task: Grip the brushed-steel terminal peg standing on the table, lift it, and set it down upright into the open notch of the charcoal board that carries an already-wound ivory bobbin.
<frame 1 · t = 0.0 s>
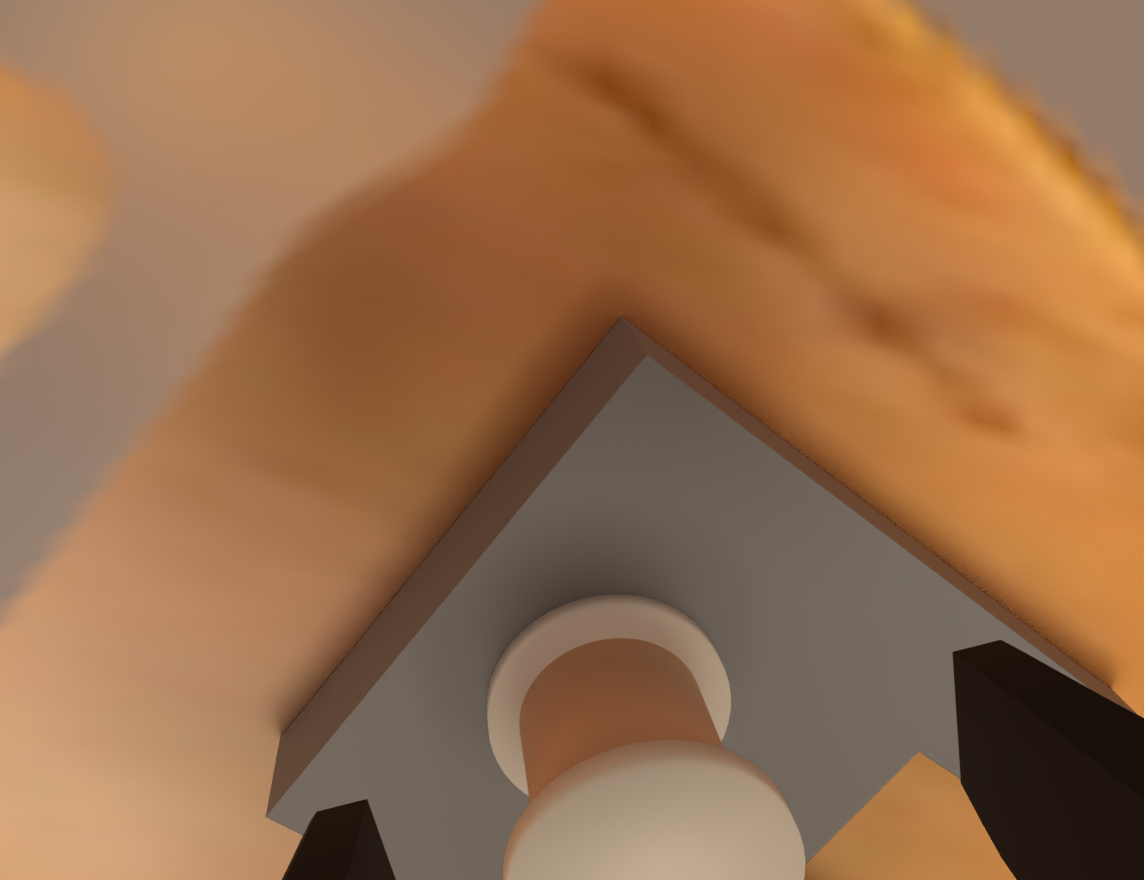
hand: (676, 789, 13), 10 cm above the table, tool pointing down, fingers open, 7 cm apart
notched board: (719, 712, 25), on the table
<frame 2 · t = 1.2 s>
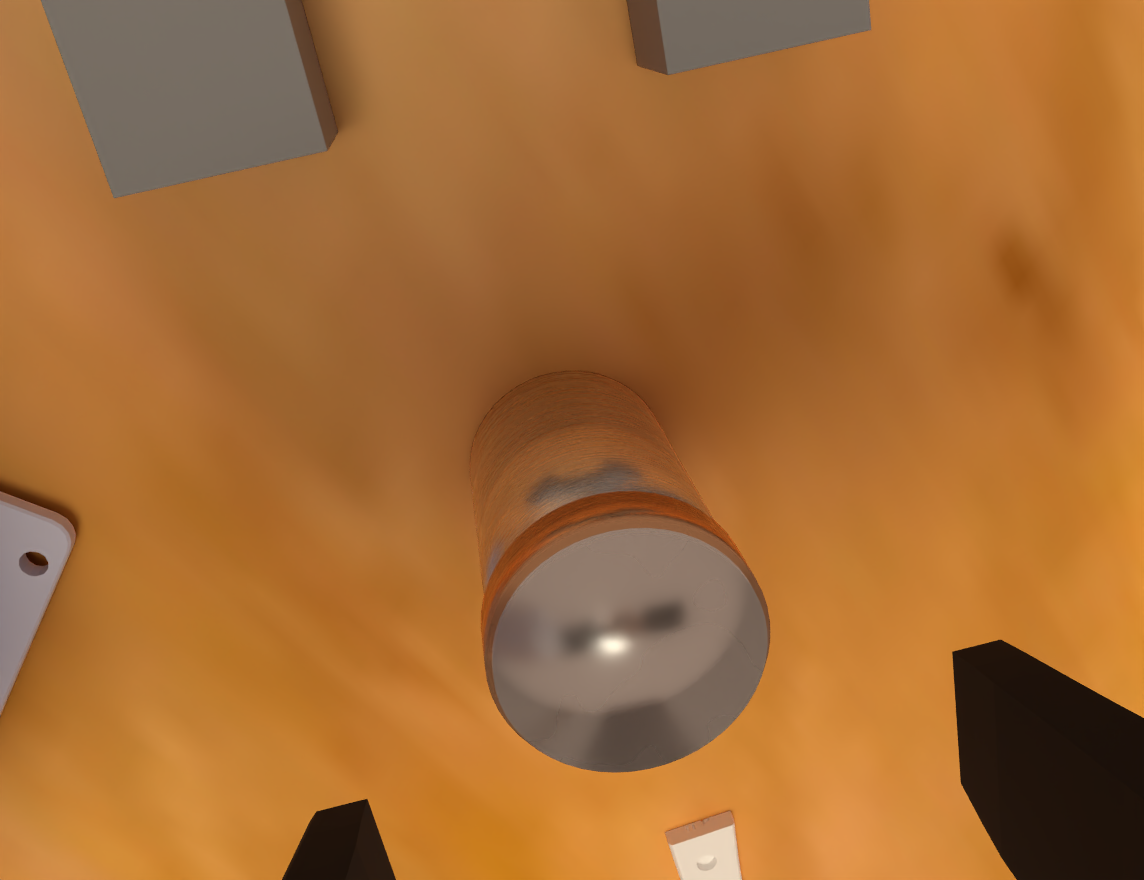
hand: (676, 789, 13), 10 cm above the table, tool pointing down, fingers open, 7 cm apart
peg: (568, 464, 22), on the table
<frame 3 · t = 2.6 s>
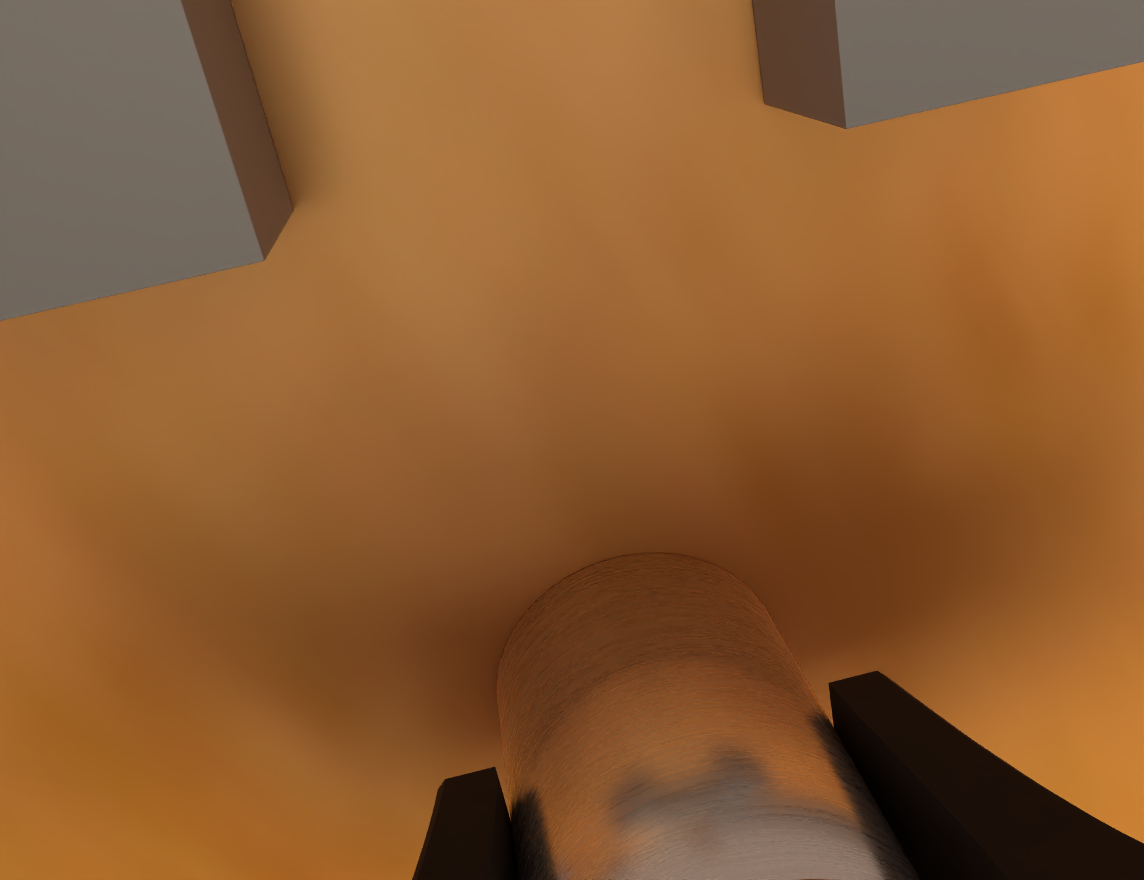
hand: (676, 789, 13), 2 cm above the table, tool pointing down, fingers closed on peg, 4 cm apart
peg: (640, 680, 15), on the table, touching gripper
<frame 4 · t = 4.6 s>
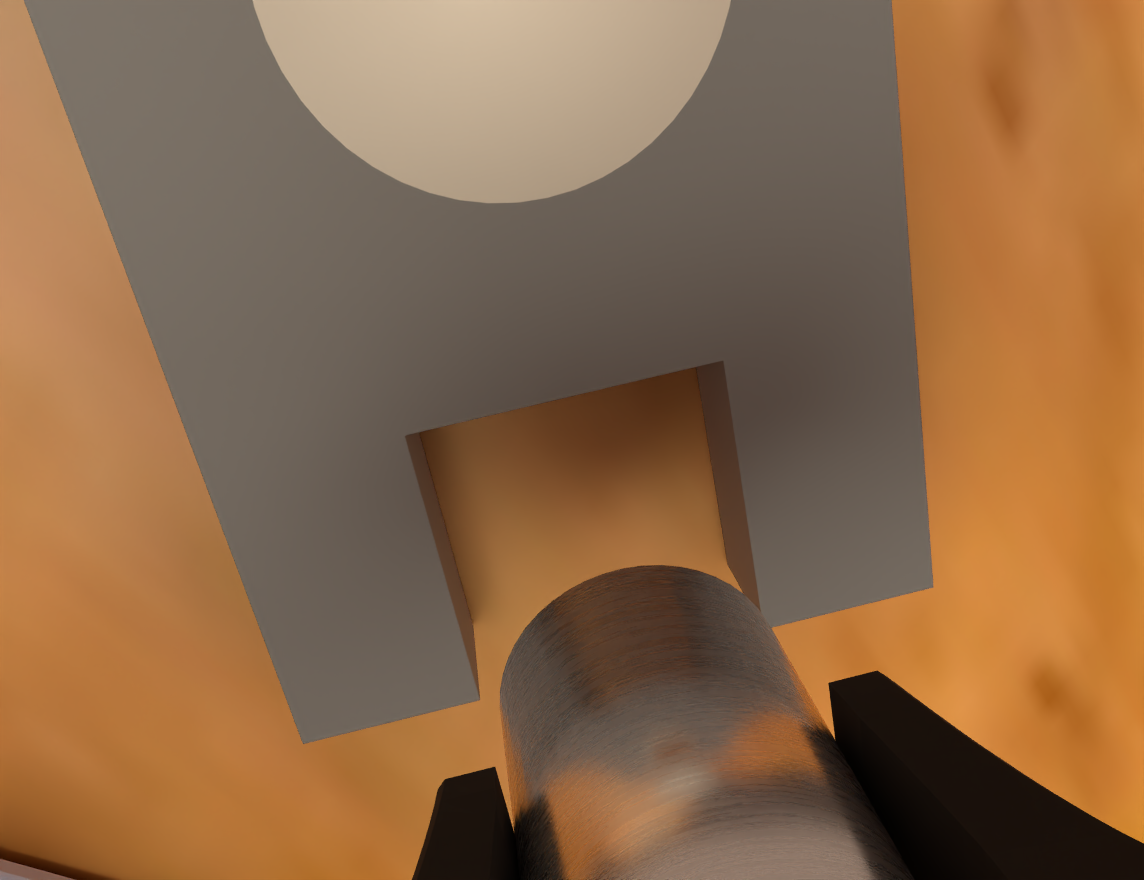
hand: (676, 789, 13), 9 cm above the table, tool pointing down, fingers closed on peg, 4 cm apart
peg: (642, 692, 15), point 7 cm above the table, touching gripper
notched board: (517, 214, 19), on the table
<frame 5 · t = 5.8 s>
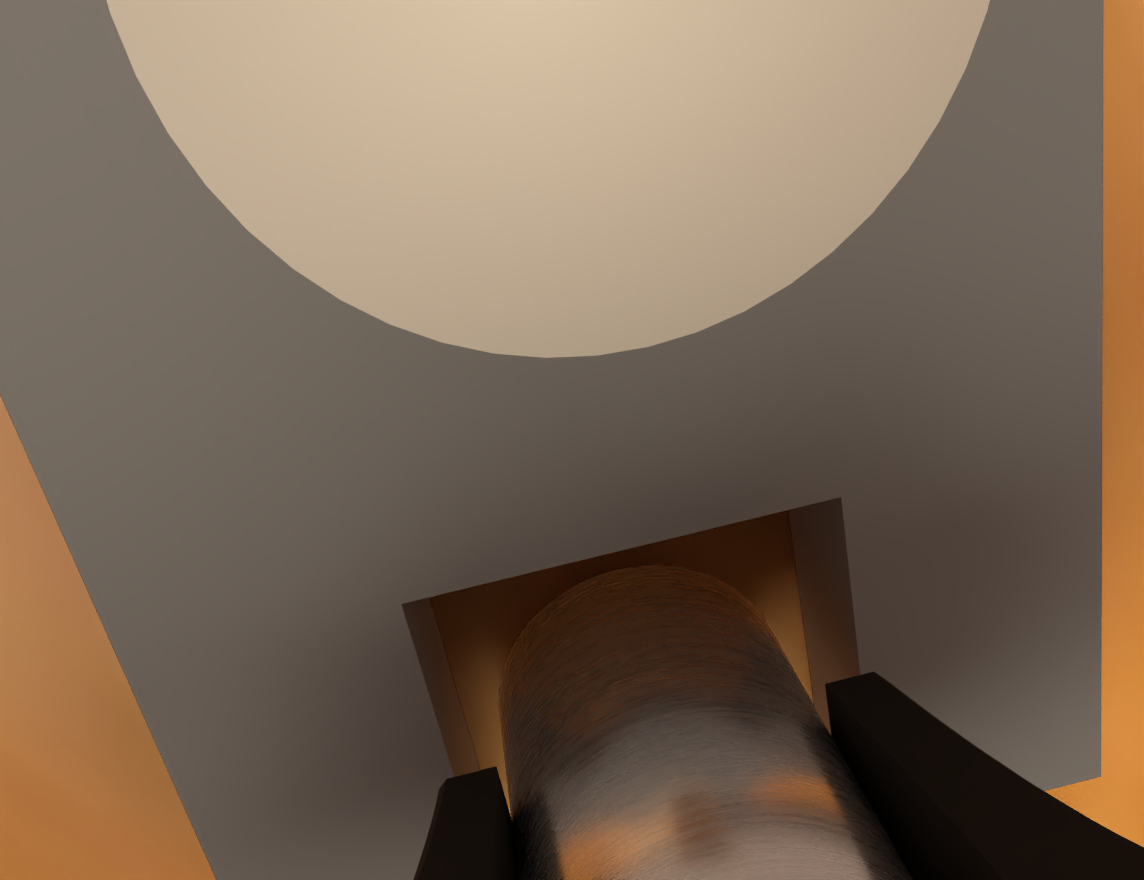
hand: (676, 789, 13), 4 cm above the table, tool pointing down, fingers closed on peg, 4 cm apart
peg: (641, 691, 15), point 1 cm above the table, touching gripper
notched board: (554, 289, 14), on the table
when the fingers open (4 cm above the table, at t = 5.9 s): peg drops 1 cm, on the table.
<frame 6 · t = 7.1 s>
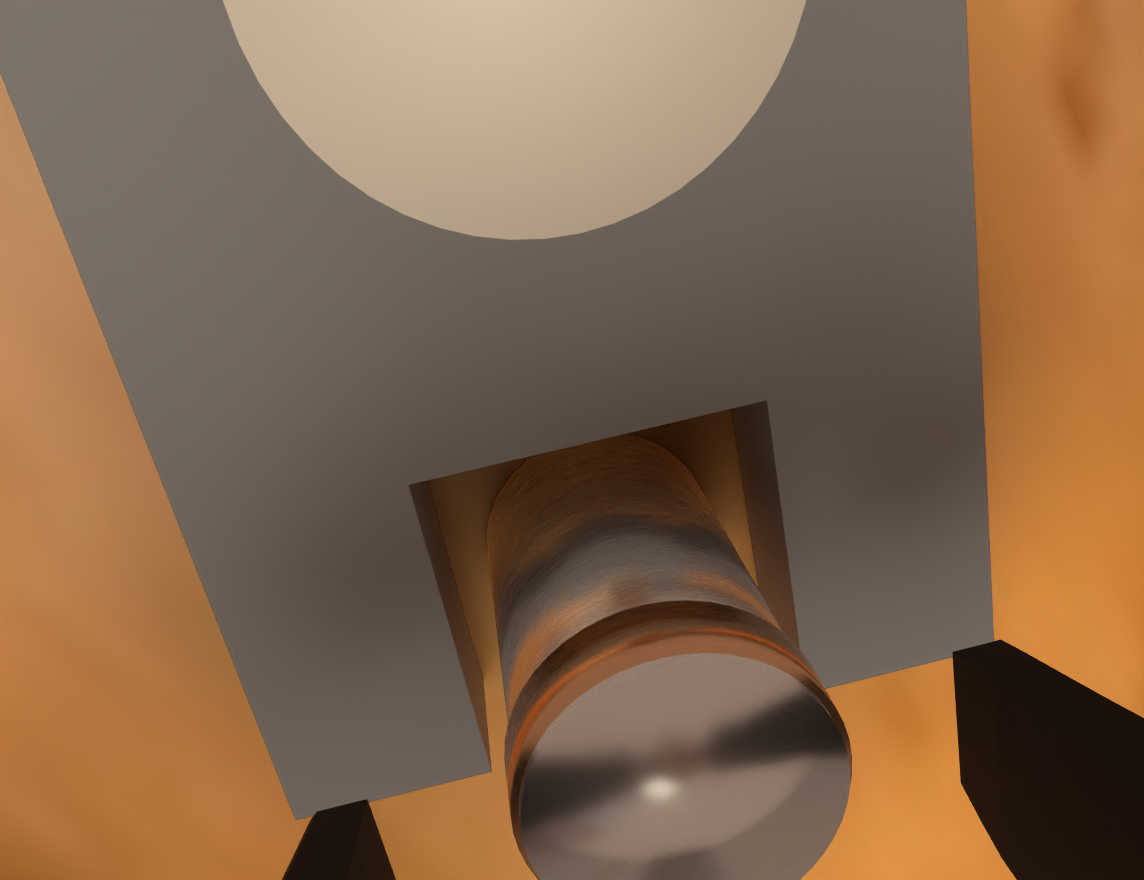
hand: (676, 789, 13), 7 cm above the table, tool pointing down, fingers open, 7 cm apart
peg: (598, 535, 19), on the table
notched board: (535, 234, 17), on the table
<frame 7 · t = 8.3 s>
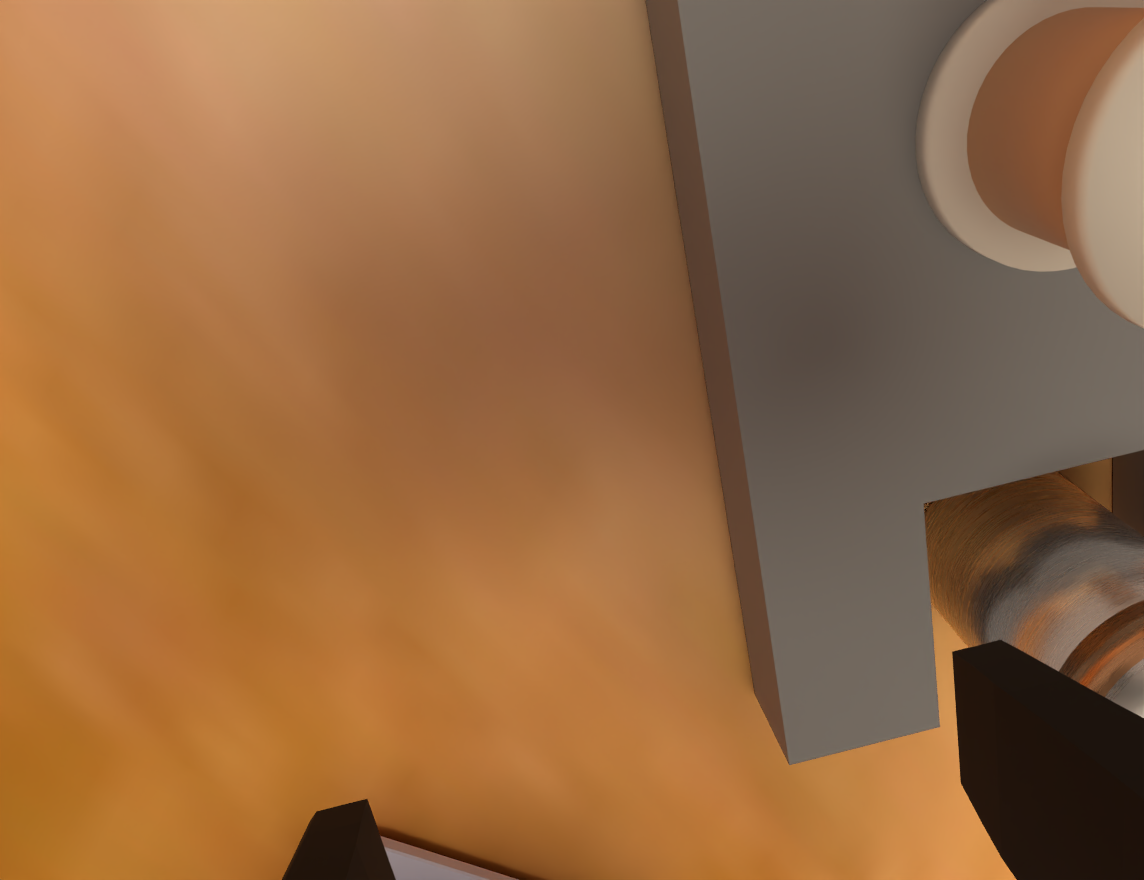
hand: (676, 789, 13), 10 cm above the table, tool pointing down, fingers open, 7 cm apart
peg: (997, 541, 24), on the table
notched board: (988, 308, 22), on the table
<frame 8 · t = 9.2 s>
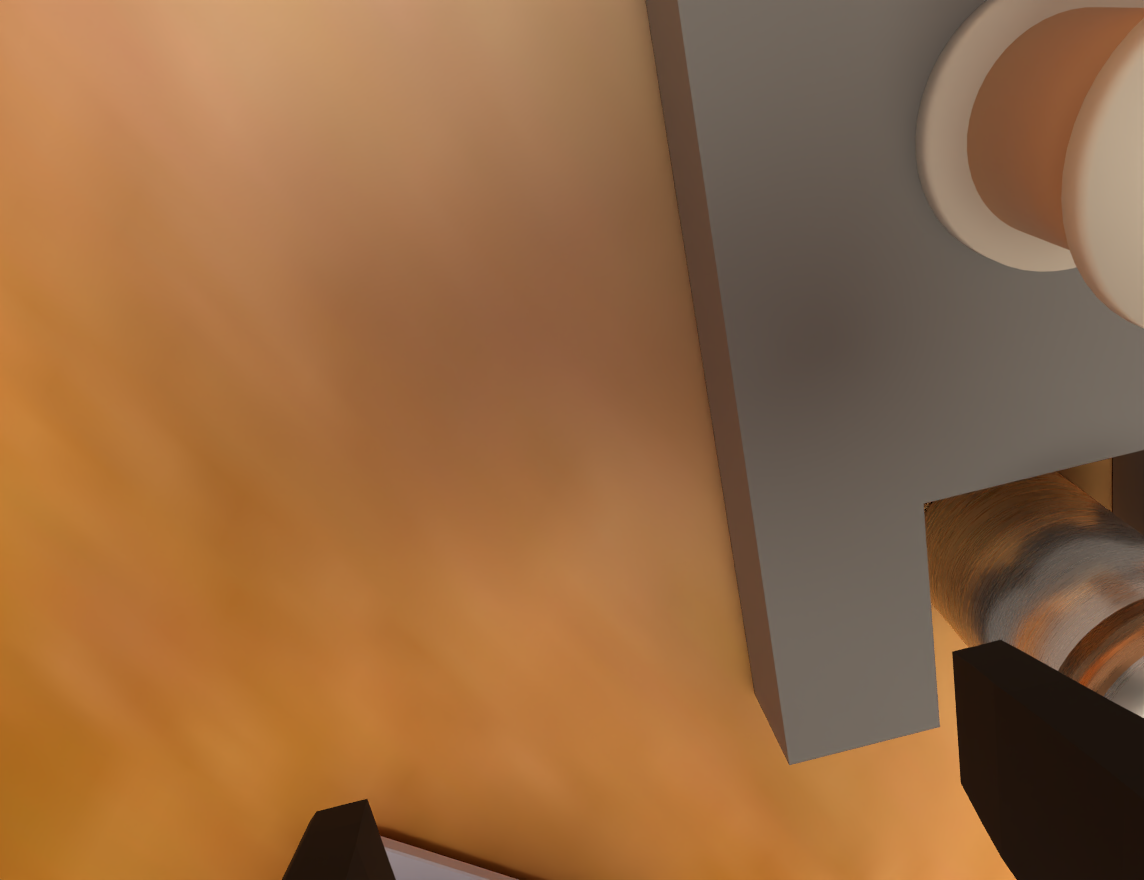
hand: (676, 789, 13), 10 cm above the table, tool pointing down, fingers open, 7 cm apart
peg: (997, 542, 24), on the table
notched board: (988, 308, 22), on the table
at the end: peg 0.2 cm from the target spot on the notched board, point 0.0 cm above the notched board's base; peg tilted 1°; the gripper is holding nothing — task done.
